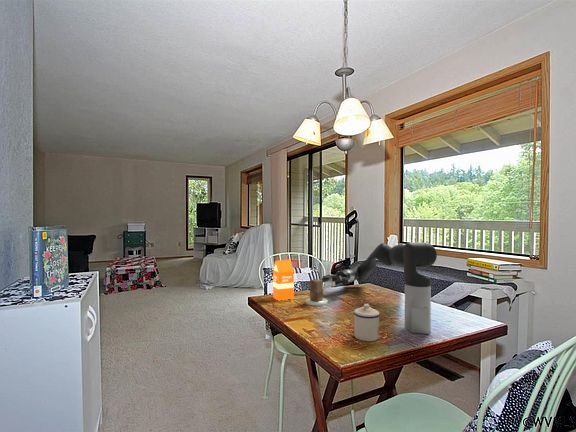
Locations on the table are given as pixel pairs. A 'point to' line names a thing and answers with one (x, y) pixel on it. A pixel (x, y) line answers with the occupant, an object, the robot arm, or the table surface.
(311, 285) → the walnut block
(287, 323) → the table surface
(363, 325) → the teacup with lid
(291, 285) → the orange juice
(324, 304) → the white plate
